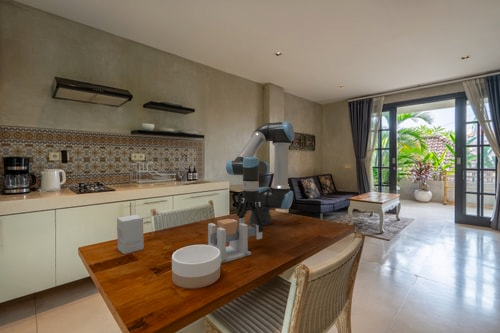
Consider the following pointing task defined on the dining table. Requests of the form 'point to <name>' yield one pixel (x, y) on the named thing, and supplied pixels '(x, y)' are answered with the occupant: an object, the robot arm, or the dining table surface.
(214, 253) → the bowl
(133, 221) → the supplement box
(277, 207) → the robot arm
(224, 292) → the dining table surface
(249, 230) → the shaft
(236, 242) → the bracket
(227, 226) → the block
